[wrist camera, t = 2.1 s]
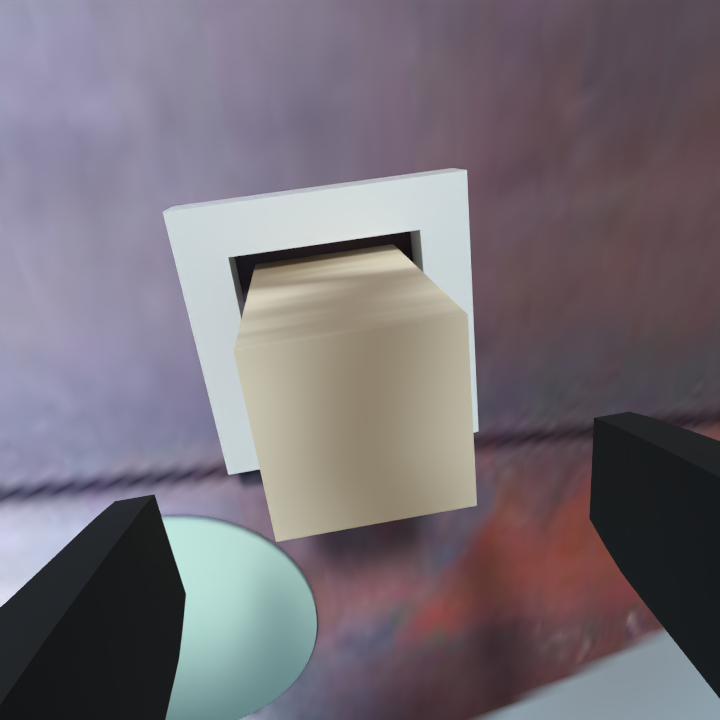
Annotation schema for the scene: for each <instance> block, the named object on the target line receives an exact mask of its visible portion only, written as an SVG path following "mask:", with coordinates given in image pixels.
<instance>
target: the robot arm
mask: <svg viewBox="0 0 720 720" xmlns="http://www.w3.org/2000/svg"><path fill="white" fill-rule="evenodd" d="M590 520H591V522H592V524H593V525H594V527H595V529H596V531H597V532H598V534H599V536H600V538H601V539H602V541H603V543H604V545H605V546H606V548H607V550H608V551H609V553H610V555H611V556H612V558H613V559H614V561H615V563H616V564H617V566H618V568H619V569H620V571H621V572H622V574H623V575H624V576H625V578H626V579H627V580H628V582H629V583H630V584H631V586H632V587H633V588H634V590H635V591H636V592H637V593H638V595H639V596H640V597H641V599H642V600H643V601H644V602H645V604H646V605H647V606H648V608H649V609H650V610H651V612H652V613H653V614H654V615H655V617H656V618H657V619H658V621H659V622H660V623H661V624H662V626H663V627H664V628H665V629H666V631H667V632H668V633H669V635H670V636H671V637H672V638H673V640H674V641H675V642H676V643H677V645H678V646H679V647H680V649H681V650H682V651H683V652H684V654H685V655H686V656H687V657H688V659H689V660H690V661H691V663H692V664H693V665H694V666H695V668H696V669H697V670H698V671H699V673H700V674H701V675H702V676H703V678H704V679H705V680H706V682H707V683H708V684H709V685H710V687H711V688H712V689H713V691H714V692H715V693H716V694H717V696H718V697H719V698H720V441H718V440H715V439H712V438H709V437H706V436H704V435H701V434H698V433H695V432H692V431H690V430H687V429H684V428H681V427H678V426H675V425H672V424H669V423H666V422H663V421H660V420H657V419H654V418H651V417H647V416H644V415H640V414H636V413H632V412H625V413H620V414H614V415H608V416H602V417H597V418H594V433H593V455H592V477H591V499H590ZM185 600H186V592H185V589H184V586H183V583H182V580H181V577H180V574H179V570H178V567H177V564H176V561H175V558H174V555H173V552H172V548H171V545H170V542H169V539H168V536H167V533H166V529H165V526H164V523H163V520H162V517H161V514H160V511H159V507H158V504H157V501H156V498H155V495H149V496H143V497H138V498H132V499H126V500H120V501H115V502H114V503H113V504H111V505H110V506H109V507H108V508H106V509H105V510H104V511H103V512H102V513H101V514H100V515H98V516H97V517H96V518H95V519H94V520H93V521H92V522H91V523H90V524H89V525H88V526H87V527H85V528H84V529H83V530H82V531H81V532H80V533H79V534H78V535H77V536H76V537H75V538H74V539H73V540H72V541H71V542H70V543H69V544H68V545H66V546H65V547H64V548H63V549H62V550H61V551H60V552H59V553H58V554H57V555H56V556H55V557H54V558H53V559H52V560H51V561H50V562H49V563H48V564H46V565H45V566H44V567H43V568H42V569H41V570H40V571H39V572H38V573H37V574H36V575H35V576H34V577H33V578H32V579H31V580H29V581H28V582H27V583H26V584H25V585H24V586H23V587H22V588H21V589H20V590H19V591H18V592H17V593H16V594H15V595H14V596H12V597H11V598H10V599H9V600H8V601H7V602H6V603H5V604H4V605H3V606H1V607H0V720H165V719H166V715H167V710H168V706H169V702H170V697H171V693H172V689H173V684H174V680H175V676H176V671H177V666H178V662H179V656H180V648H181V640H182V631H183V621H184V611H185Z"/></svg>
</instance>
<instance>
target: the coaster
mask: <svg viewBox="0 0 720 720" xmlns="http://www.w3.org/2000/svg"><path fill="white" fill-rule="evenodd" d="M161 517H162V520H163V523H164V526H165V529H166V533H167V536H168V539H169V542H170V545H171V548H172V552H173V555H174V558H175V561H176V564H177V567H178V570H179V574H180V577H181V580H182V583H183V586H184V589H185V592H186V600H185V611H184V621H183V631H182V640H181V648H180V656H179V662H178V666H177V671H176V676H175V680H174V684H173V689H172V693H171V697H170V702H169V706H168V710H167V715H166V719H165V720H238V719H241V718H243V717H245V716H247V715H250V714H252V713H254V712H256V711H258V710H259V709H261V708H263V707H264V706H266V705H268V704H270V703H271V702H272V701H274V700H275V699H276V698H278V697H279V696H280V695H281V694H283V693H284V692H285V691H286V690H287V689H288V688H289V687H290V686H291V685H292V684H293V683H294V681H295V680H296V679H297V678H298V676H299V675H300V674H301V673H302V671H303V669H304V668H305V666H306V664H307V663H308V661H309V658H310V656H311V653H312V651H313V648H314V644H315V639H316V630H317V617H316V607H315V600H314V596H313V593H312V590H311V587H310V585H309V583H308V581H307V579H306V577H305V575H304V573H303V572H302V571H301V569H300V568H299V566H298V565H297V563H296V562H295V561H294V560H293V559H292V558H291V557H290V556H289V555H288V554H287V553H286V552H285V551H284V550H282V549H281V548H280V547H279V546H277V545H276V544H275V543H274V542H272V541H270V540H269V539H267V538H265V537H264V536H262V535H260V534H259V533H256V532H254V531H252V530H250V529H248V528H245V527H243V526H240V525H237V524H234V523H231V522H227V521H224V520H219V519H214V518H209V517H202V516H191V515H165V516H161Z"/></svg>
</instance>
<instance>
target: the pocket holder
mask: <svg viewBox="0 0 720 720" xmlns="http://www.w3.org/2000/svg"><path fill="white" fill-rule="evenodd" d="M163 215H164V219H165V223H166V227H167V231H168V235H169V239H170V243H171V247H172V251H173V255H174V259H175V263H176V267H177V271H178V275H179V279H180V283H181V287H182V291H183V295H184V299H185V303H186V307H187V311H188V315H189V319H190V323H191V327H192V331H193V335H194V339H195V343H196V347H197V351H198V355H199V359H200V363H201V367H202V371H203V375H204V379H205V383H206V387H207V391H208V395H209V399H210V403H211V407H212V411H213V415H214V419H215V423H216V427H217V431H218V435H219V439H220V443H221V447H222V451H223V455H224V459H225V463H226V467H227V471H228V475H230V474H236V473H242V472H248V471H253V470H259V469H260V467H259V463H258V458H257V454H256V449H255V445H254V440H253V436H252V431H251V427H250V422H249V418H248V413H247V409H246V405H245V400H244V396H243V391H242V387H241V382H240V378H239V373H238V369H237V364H236V360H235V355H234V347H235V343H236V339H237V335H238V331H239V327H240V323H241V319H242V315H243V311H244V307H245V305H244V300H243V295H242V290H241V286H240V281H239V276H238V271H237V266H236V262H235V256H242V255H249V254H256V253H263V252H270V251H276V250H283V249H290V248H297V247H304V246H311V245H318V244H325V243H332V242H339V241H346V240H353V239H360V238H366V237H373V236H380V235H387V234H394V233H401V232H408V231H410V233H411V245H412V257H413V263H414V264H415V265H416V266H417V267H418V268H419V269H420V270H421V271H422V272H423V273H424V274H425V275H426V276H428V277H429V278H430V279H431V280H432V281H433V282H434V283H435V284H436V285H437V286H438V287H439V288H440V289H441V290H442V291H443V292H445V293H446V294H447V295H448V296H449V297H450V298H451V299H452V300H453V301H454V302H455V303H456V304H457V305H458V306H459V307H461V308H462V309H463V310H464V311H465V312H466V313H467V314H468V333H469V353H470V374H471V395H472V416H473V433H474V432H478V411H477V389H476V366H475V344H474V321H473V299H472V276H471V254H470V231H469V209H468V186H467V170H462V169H455V168H449V169H442V170H434V171H427V172H420V173H412V174H405V175H398V176H390V177H383V178H376V179H369V180H361V181H354V182H347V183H339V184H332V185H325V186H317V187H310V188H303V189H295V190H288V191H281V192H273V193H266V194H259V195H251V196H244V197H237V198H230V199H222V200H215V201H208V202H200V203H193V204H186V205H178V206H172V207H171V208H169V209H167V210H165V211H163Z"/></svg>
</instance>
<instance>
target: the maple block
mask: <svg viewBox="0 0 720 720" xmlns="http://www.w3.org/2000/svg"><path fill="white" fill-rule="evenodd" d="M234 355H235V360H236V364H237V369H238V373H239V378H240V382H241V387H242V391H243V396H244V400H245V405H246V409H247V413H248V418H249V422H250V427H251V431H252V436H253V440H254V445H255V449H256V454H257V458H258V463H259V467H260V472H261V476H262V481H263V485H264V490H265V494H266V499H267V503H268V507H269V512H270V516H271V521H272V525H273V530H274V534H275V539H276V542H278V541H284V540H289V539H295V538H300V537H306V536H312V535H317V534H323V533H328V532H334V531H339V530H345V529H350V528H356V527H361V526H367V525H372V524H378V523H383V522H389V521H394V520H400V519H405V518H411V517H416V516H422V515H427V514H433V513H438V512H444V511H449V510H455V509H460V508H466V507H471V506H477V499H476V478H475V457H474V436H473V416H472V395H471V374H470V353H469V333H468V314H467V313H466V312H465V311H464V310H463V309H462V308H461V307H459V306H458V305H457V304H456V303H455V302H454V301H453V300H452V299H451V298H450V297H449V296H448V295H447V294H446V293H445V292H443V291H442V290H441V289H440V288H439V287H438V286H437V285H436V284H435V283H434V282H433V281H432V280H431V279H430V278H429V277H428V276H426V275H425V274H424V273H423V272H422V271H421V270H420V269H419V268H418V267H417V266H416V265H415V264H414V263H413V262H412V261H411V260H409V259H408V258H407V257H406V256H405V255H404V254H403V253H402V252H401V251H400V250H399V249H398V248H397V247H396V246H395V245H393V244H390V245H383V246H376V247H369V248H362V249H355V250H348V251H342V252H335V253H328V254H321V255H314V256H307V257H300V258H293V259H287V260H280V261H273V262H266V263H259V264H255V268H254V272H253V276H252V280H251V284H250V288H249V292H248V295H247V299H246V303H245V307H244V311H243V315H242V319H241V323H240V327H239V331H238V335H237V339H236V343H235V347H234Z"/></svg>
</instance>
